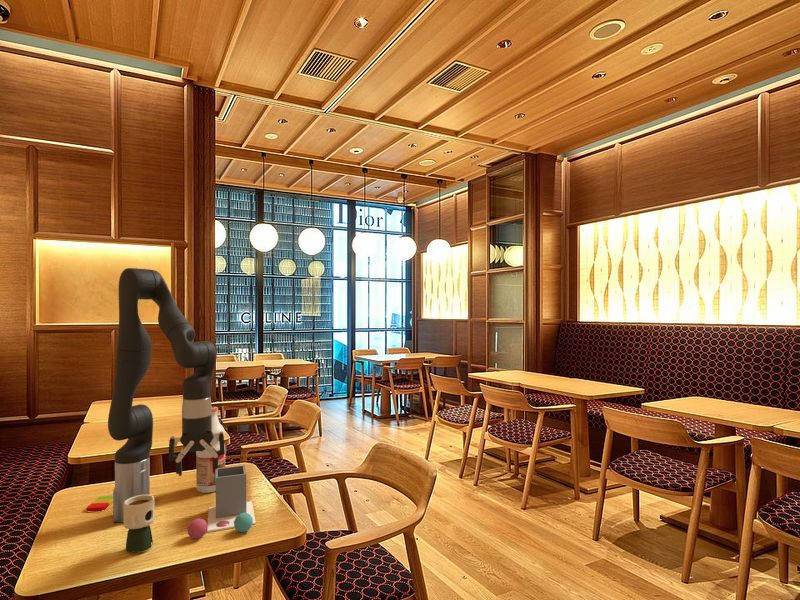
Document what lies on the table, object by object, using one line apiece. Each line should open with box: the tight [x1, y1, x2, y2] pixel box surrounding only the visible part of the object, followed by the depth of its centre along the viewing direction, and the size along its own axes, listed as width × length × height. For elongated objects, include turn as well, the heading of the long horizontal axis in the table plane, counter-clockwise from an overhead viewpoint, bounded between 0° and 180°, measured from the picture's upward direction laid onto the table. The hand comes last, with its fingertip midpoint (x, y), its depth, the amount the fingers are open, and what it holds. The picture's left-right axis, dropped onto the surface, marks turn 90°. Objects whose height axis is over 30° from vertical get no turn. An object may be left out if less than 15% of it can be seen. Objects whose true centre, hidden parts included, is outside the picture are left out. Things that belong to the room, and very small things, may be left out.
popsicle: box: [85, 492, 113, 512], centre depth 153 cm, size 6×15×2 cm, turn 8°
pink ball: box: [187, 518, 208, 540], centre depth 129 cm, size 5×5×5 cm
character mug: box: [123, 494, 155, 553], centre depth 123 cm, size 11×7×13 cm, turn 12°
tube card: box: [206, 464, 257, 533], centre depth 142 cm, size 13×16×12 cm
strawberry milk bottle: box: [195, 406, 226, 494], centre depth 164 cm, size 9×9×28 cm
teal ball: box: [234, 513, 253, 533], centre depth 133 cm, size 5×5×5 cm
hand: (197, 472), depth 130 cm, fingers open, 8 cm apart
